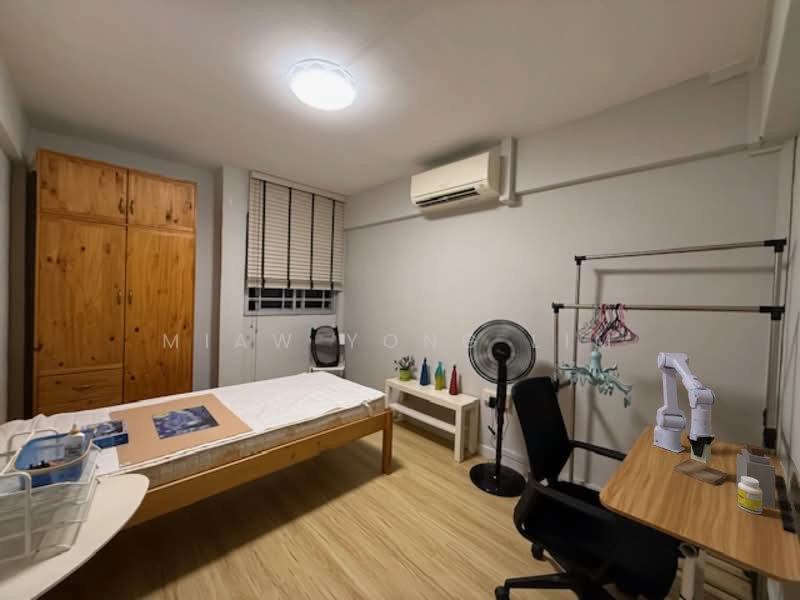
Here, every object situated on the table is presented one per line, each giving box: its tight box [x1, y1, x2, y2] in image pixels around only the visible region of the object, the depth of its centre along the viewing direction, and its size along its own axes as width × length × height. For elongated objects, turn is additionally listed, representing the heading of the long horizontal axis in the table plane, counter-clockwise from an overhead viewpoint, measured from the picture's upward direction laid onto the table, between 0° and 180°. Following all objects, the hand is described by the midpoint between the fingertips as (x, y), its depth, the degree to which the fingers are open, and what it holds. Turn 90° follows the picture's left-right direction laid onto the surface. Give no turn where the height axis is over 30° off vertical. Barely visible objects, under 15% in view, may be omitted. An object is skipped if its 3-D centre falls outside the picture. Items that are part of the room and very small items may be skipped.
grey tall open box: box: [736, 443, 776, 509], centre depth 110 cm, size 7×7×18 cm
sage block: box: [690, 444, 712, 464], centre depth 126 cm, size 4×4×6 cm
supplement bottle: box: [737, 476, 763, 515], centre depth 105 cm, size 5×5×10 cm
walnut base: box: [673, 459, 728, 486], centre depth 126 cm, size 12×12×2 cm
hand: (700, 454), depth 126 cm, fingers closed on sage block, 4 cm apart
